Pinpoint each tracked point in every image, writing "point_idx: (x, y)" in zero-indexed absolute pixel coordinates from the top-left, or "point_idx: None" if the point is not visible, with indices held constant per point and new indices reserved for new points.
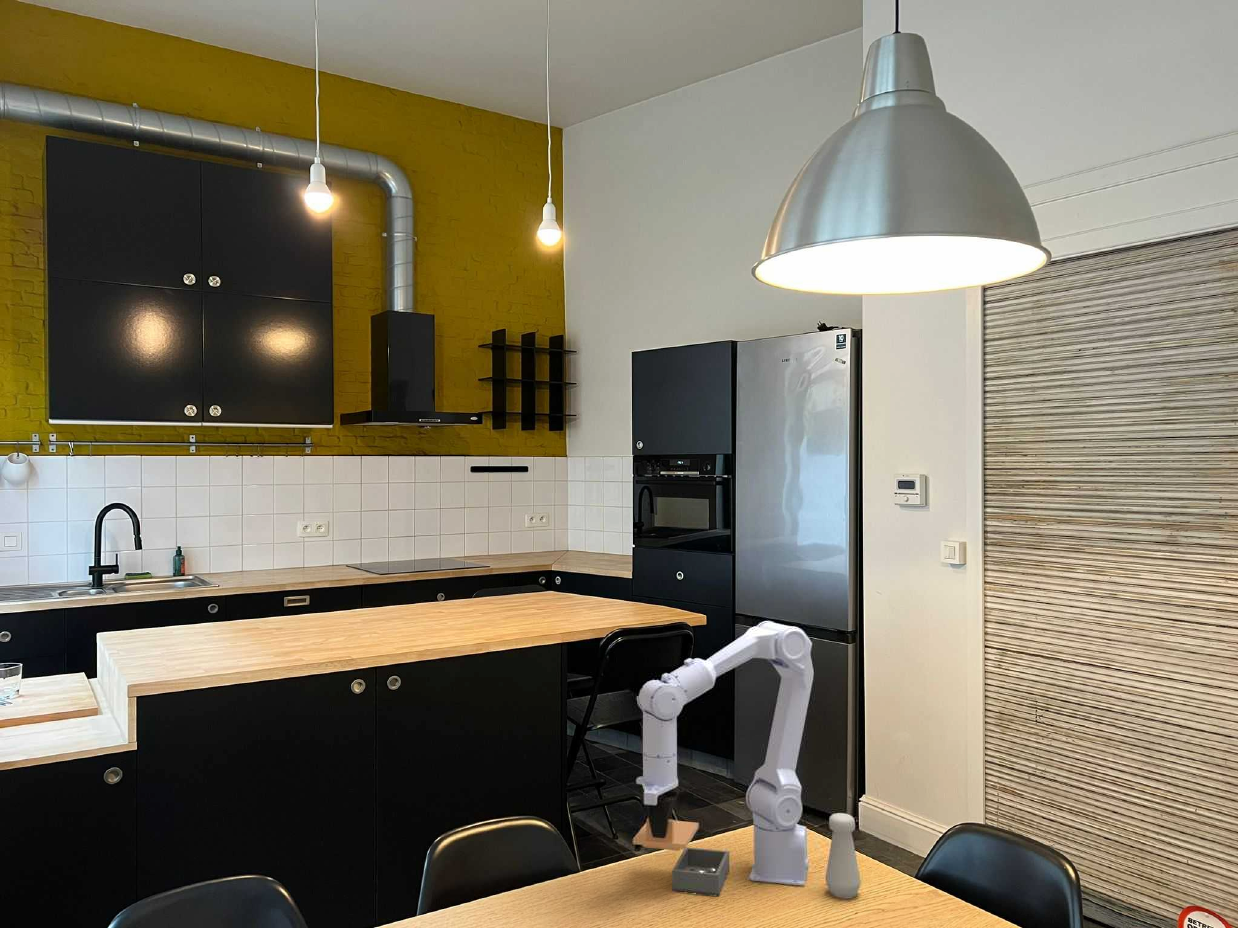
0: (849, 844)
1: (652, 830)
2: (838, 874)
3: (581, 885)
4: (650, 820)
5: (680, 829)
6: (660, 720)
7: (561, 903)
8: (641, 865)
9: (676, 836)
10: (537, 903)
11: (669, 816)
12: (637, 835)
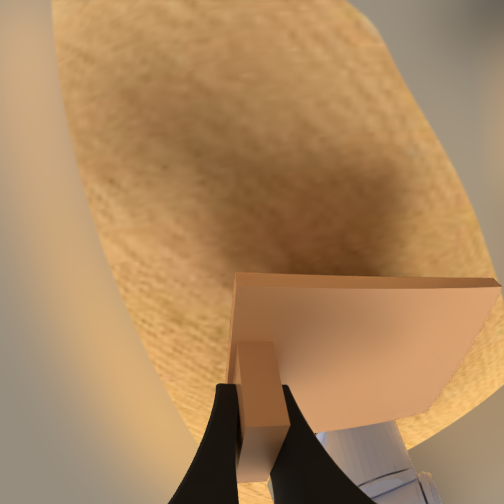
0: None
1: (212, 408)
2: (273, 494)
3: (280, 27)
4: (199, 450)
5: (378, 400)
6: None
7: (139, 6)
8: (430, 190)
9: (304, 410)
10: None
11: (273, 483)
12: (301, 294)
